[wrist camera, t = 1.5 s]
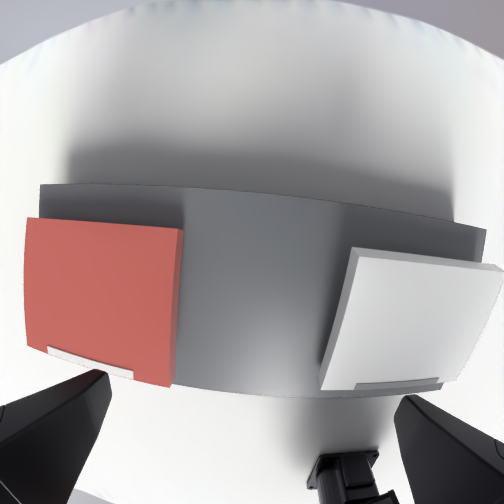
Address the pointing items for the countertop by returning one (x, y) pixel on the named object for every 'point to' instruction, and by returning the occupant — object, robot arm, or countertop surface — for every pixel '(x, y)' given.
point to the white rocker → (407, 320)
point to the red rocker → (104, 295)
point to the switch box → (261, 274)
